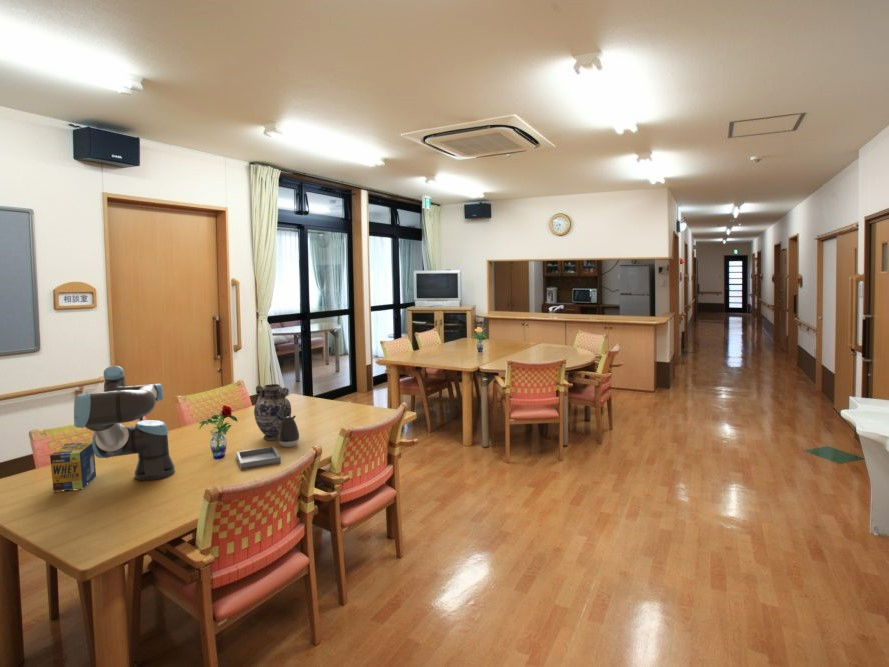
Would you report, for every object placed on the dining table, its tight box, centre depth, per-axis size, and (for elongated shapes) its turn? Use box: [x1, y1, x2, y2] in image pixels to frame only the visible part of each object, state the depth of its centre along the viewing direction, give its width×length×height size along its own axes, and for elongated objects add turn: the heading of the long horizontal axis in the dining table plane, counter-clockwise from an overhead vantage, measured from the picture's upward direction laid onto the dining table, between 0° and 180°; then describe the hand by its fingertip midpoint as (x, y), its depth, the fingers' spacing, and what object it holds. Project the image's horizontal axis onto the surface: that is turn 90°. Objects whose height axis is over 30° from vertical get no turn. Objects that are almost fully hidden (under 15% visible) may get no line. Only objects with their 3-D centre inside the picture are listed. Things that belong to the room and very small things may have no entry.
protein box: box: [49, 441, 97, 491], centre depth 217 cm, size 10×15×16 cm
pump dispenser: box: [278, 415, 300, 448], centre depth 263 cm, size 10×10×15 cm
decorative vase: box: [253, 383, 292, 441], centre depth 276 cm, size 21×19×28 cm
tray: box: [235, 445, 281, 471], centre depth 243 cm, size 17×17×3 cm
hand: (123, 426), depth 245 cm, fingers open, 13 cm apart
